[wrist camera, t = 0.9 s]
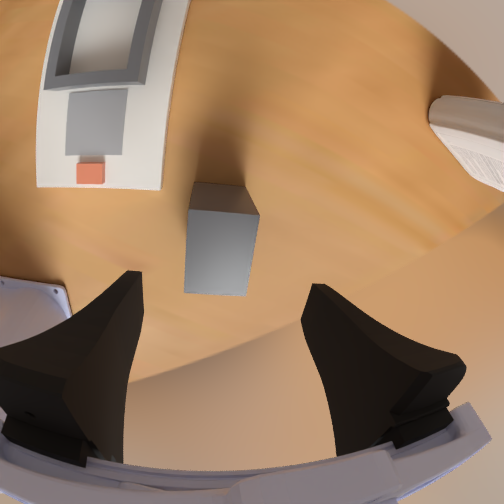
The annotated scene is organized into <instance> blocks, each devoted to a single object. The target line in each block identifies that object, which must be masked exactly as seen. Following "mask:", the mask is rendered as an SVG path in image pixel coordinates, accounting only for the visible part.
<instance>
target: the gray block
mask: <svg viewBox="0 0 504 504" xmlns="http://www.w3.org/2000/svg"><path fill="white" fill-rule="evenodd" d="M259 218H260V215H259V213H258V211H257V209H256V207H255V205H254V203H253V201H252V199H251V197H250V195H249V193H248V191H247V189H246V187H243V186H234V185H224V184H213V183H202V182H194V186H193V190H192V195H191V200H190V205H189V210H188V224H187V239H186V257H185V281H184V293H194V294H210V295H229V296H246V293H247V287H248V281H249V276H250V270H251V264H252V258H253V253H254V247H255V241H256V235H257V230H258V224H259Z"/></svg>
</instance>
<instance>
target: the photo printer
mask: <svg viewBox="0 0 504 504" xmlns="http://www.w3.org/2000/svg"><path fill="white" fill-rule="evenodd" d="M429 121H430V123H429V125H430V127H431V128H432V130H433V131H434V133H435V134H436V135H437V137H438V138H439V139H440V140H441V141H442V142H443V144H444V145H445V146H446V147H447V148H448V150H449V151H450V152H451V153H452V154H453V156H454V157H455V158H456V159H457V160H458V162H459V163H460V164H461V165H462V167H463V168H464V169H465V170H466V171H467V172H468V173H469V174H470V175H471V176H472V177H473V178H475V179H477V180H478V181H481V182H483V183H485V184H487V185H490V186H492V187H494V188H496V189H498V190H500V191H502V192H504V103H502V102H496V101H491V100H485V99H478V98H470V97H462V96H451V95H443V96H442V97H441V98H438V99H436V100H435V101H434V102H433V103H432V105H431V107H430V110H429Z"/></svg>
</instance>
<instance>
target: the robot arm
mask: <svg viewBox="0 0 504 504" xmlns="http://www.w3.org/2000/svg"><path fill="white" fill-rule="evenodd" d="M55 289H56V290H57V291H56V290H55ZM143 315H144V304H143V287H142V272H140V271H129V270H128V271H126V272H125V273H124V274H123V275H122V276H121V277H120V278H118V279H117V280H116V281H115V282H114V283H113V284H112V285H111V286H110V287H109V288H107V289H106V290H105V291H104V292H103V293H102V294H101V295H99V296H98V297H97V298H96V299H94V300H93V301H92V302H91V303H89V304H88V305H87V306H86V307H84V308H83V309H82V310H80V311H79V312H77V313H76V314H74V315H73V316H72V313H71V309H70V305H69V301H68V297H67V293H66V289H65V288H64V287H63V286H61V285H55V284H47V283H40V282H33V281H27V280H20V279H14V278H8V277H2V276H0V493H4V494H6V495H8V496H10V497H12V498H14V499H16V500H18V501H20V502H22V503H24V504H398V503H397V501H399V500H401V499H403V498H405V497H407V496H409V495H411V494H413V493H415V492H417V491H419V490H421V489H423V488H424V487H426V486H428V485H430V484H431V483H433V482H435V481H436V480H438V479H440V478H441V477H443V476H445V475H446V474H448V473H449V472H451V471H453V470H454V469H456V468H457V467H458V466H460V465H461V464H463V463H464V462H465V461H466V460H468V459H469V458H471V457H472V456H473V455H474V454H476V453H477V452H478V451H479V450H480V449H482V448H483V447H484V446H485V445H486V444H488V443H489V442H490V441H491V440H492V438H491V436H490V435H489V433H488V431H487V429H486V428H485V426H484V425H483V423H482V421H481V420H480V418H479V417H478V415H477V413H476V412H475V410H474V409H473V407H472V406H471V404H470V403H469V402H466V403H464V404H462V405H460V406H458V407H456V408H454V409H453V410H452V411H450V412H449V411H448V410H447V408H446V407H448V406H449V404H450V403H449V401H448V400H447V397H448V395H450V393H451V392H452V391H453V390H454V389H455V388H456V386H457V385H458V384H459V383H460V381H461V380H462V379H463V377H464V375H465V372H466V365H465V364H464V362H463V361H462V360H461V359H460V357H459V356H458V355H456V354H453V353H449V352H445V351H441V350H437V349H434V348H431V347H428V346H426V345H423V344H420V343H418V342H415V341H413V340H411V339H409V338H407V337H404V336H402V335H400V334H398V333H396V332H394V331H393V330H391V329H389V328H388V327H386V326H384V325H382V324H381V323H379V322H378V321H376V320H374V319H373V318H371V317H370V316H369V315H367V314H366V313H364V312H363V311H362V310H360V309H359V308H357V307H356V306H355V305H353V304H352V303H351V302H349V301H348V300H347V299H346V298H344V297H343V296H342V295H340V294H339V293H338V292H336V291H335V290H333V289H332V288H331V287H329V286H327V285H326V284H313V283H312V286H311V290H310V293H309V296H308V299H307V302H306V305H305V308H304V311H303V314H302V317H301V324H302V328H303V332H304V336H305V339H306V342H307V345H308V347H309V350H310V352H311V355H312V357H313V360H314V362H315V365H316V367H317V369H318V372H319V374H320V377H321V380H322V383H323V386H324V389H325V393H326V397H327V401H328V405H329V410H330V414H331V419H332V425H333V431H334V437H335V445H336V455H337V457H334V458H329V459H325V460H319V461H315V462H309V463H303V464H297V465H290V466H283V467H275V468H265V469H254V470H237V471H186V470H170V469H158V468H149V467H141V466H134V465H128V464H123V429H124V413H125V401H126V392H127V384H128V378H129V374H130V370H131V366H132V362H133V358H134V355H135V351H136V347H137V344H138V340H139V337H140V333H141V327H142V321H143Z"/></svg>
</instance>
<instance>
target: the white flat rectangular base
mask: <svg viewBox="0 0 504 504" xmlns="http://www.w3.org/2000/svg"><path fill="white" fill-rule="evenodd" d="M190 1H191V0H60V2H59V5H58V8H57V11H56V15H55V18H54V21H53V25H52V29H51V33H50V37H49V41H48V45H47V50H46V55H45V60H44V65H43V71H42V77H41V84H40V92H39V101H38V112H37V128H36V179H37V187H88V188H121V189H143V190H161V189H162V187H163V173H164V161H165V149H166V139H167V130H168V121H169V113H170V105H171V98H172V91H173V85H174V79H175V73H176V67H177V61H178V56H179V50H180V45H181V40H182V36H183V31H184V26H185V22H186V18H187V13H188V9H189V5H190Z"/></svg>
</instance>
